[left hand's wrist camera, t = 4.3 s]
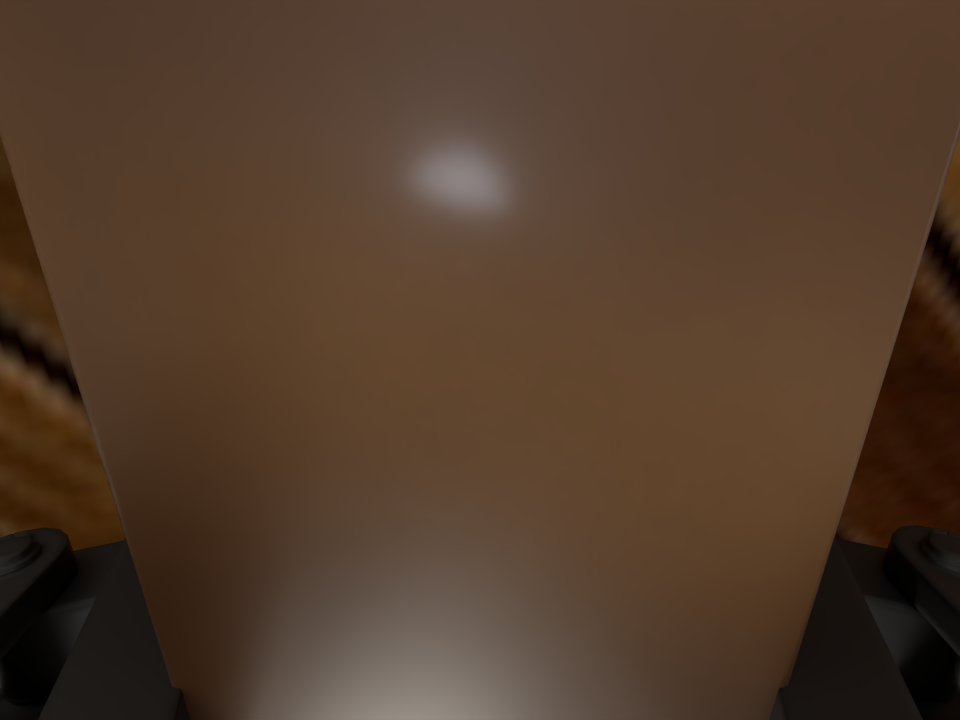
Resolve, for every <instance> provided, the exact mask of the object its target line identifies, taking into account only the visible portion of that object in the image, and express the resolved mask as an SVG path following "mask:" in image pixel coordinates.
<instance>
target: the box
mask: <svg viewBox="0 0 960 720" xmlns="http://www.w3.org/2000/svg"><path fill="white" fill-rule="evenodd" d="M959 135H960V0H0V136H1V139H2V142H3V146H4V149H5V152H6V155H7V158H8V162H9V165H10V168H11V171H12V175H13V178H14V181H15V184H16V187H17V191H18V194H19V197H20V200H21V203H22V207H23V210H24V213H25V216H26V219H27V223H28V226H29V229H30V232H31V235H32V239H33V242H34V245H35V248H36V252H37V255H38V258H39V261H40V264H41V268H42V271H43V274H44V277H45V280H46V284H47V287H48V290H49V293H50V296H51V300H52V303H53V306H54V309H55V312H56V316H57V319H58V322H59V325H60V329H61V332H62V335H63V338H64V341H65V345H66V348H67V351H68V354H69V357H70V361H71V364H72V367H73V370H74V373H75V377H76V380H77V383H78V386H79V390H80V393H81V396H82V399H83V402H84V406H85V409H86V412H87V415H88V418H89V422H90V425H91V428H92V431H93V434H94V438H95V441H96V444H97V447H98V450H99V454H100V457H101V460H102V463H103V467H104V470H105V473H106V476H107V479H108V483H109V486H110V489H111V492H112V495H113V499H114V502H115V505H116V508H117V511H118V515H119V518H120V521H121V524H122V527H123V531H124V534H125V537H126V540H127V544H128V547H129V550H130V553H131V556H132V560H133V563H134V566H135V569H136V572H137V576H138V579H139V582H140V585H141V588H142V592H143V595H144V598H145V601H146V605H147V608H148V611H149V614H150V617H151V621H152V624H153V627H154V630H155V633H156V637H157V640H158V643H159V646H160V649H161V653H162V656H163V659H164V662H165V665H166V669H167V672H168V675H169V678H170V682H171V685H172V686H173V687H175V688H177V689H181V690H182V693H183V697H184V700H185V703H186V706H187V710H188V713H189V716H190V720H770V716H771V713H772V710H773V706H774V703H775V700H776V697H777V693H778V690H779V688H784V687H786V686H788V684H789V681H790V678H791V675H792V671H793V668H794V665H795V662H796V659H797V655H798V652H799V649H800V646H801V643H802V639H803V636H804V633H805V630H806V627H807V623H808V620H809V617H810V614H811V610H812V607H813V604H814V601H815V598H816V594H817V591H818V588H819V585H820V582H821V578H822V575H823V572H824V569H825V566H826V562H827V559H828V556H829V553H830V549H831V546H832V543H833V540H834V537H835V533H836V530H837V527H838V524H839V521H840V517H841V514H842V511H843V508H844V505H845V501H846V498H847V495H848V492H849V488H850V485H851V482H852V479H853V476H854V472H855V469H856V466H857V463H858V460H859V456H860V453H861V450H862V447H863V444H864V440H865V437H866V434H867V431H868V427H869V424H870V421H871V418H872V415H873V411H874V408H875V405H876V402H877V399H878V395H879V392H880V389H881V386H882V383H883V379H884V376H885V373H886V370H887V366H888V363H889V360H890V357H891V354H892V350H893V347H894V344H895V341H896V338H897V334H898V331H899V328H900V325H901V322H902V318H903V315H904V312H905V309H906V305H907V302H908V299H909V296H910V293H911V289H912V286H913V283H914V280H915V277H916V273H917V270H918V267H919V264H920V261H921V257H922V254H923V251H924V248H925V244H926V241H927V238H928V235H929V232H930V228H931V225H932V222H933V219H934V216H935V212H936V209H937V206H938V203H939V200H940V196H941V193H942V190H943V187H944V183H945V180H946V177H947V174H948V171H949V167H950V164H951V161H952V158H953V155H954V151H955V148H956V145H957V142H958V138H959Z"/></svg>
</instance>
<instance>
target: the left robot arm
mask: <svg viewBox="0 0 960 720" xmlns="http://www.w3.org/2000/svg"><path fill="white" fill-rule="evenodd" d="M0 720H190V716H189V713H188V710H187V706H186V703H185V700H184V697H183V693H182V690H181V689H177V688H175V687H173V686H172V685H171V682H170V678H169V675H168V672H167V669H166V665H165V662H164V659H163V656H162V653H161V649H160V646H159V643H158V640H157V637H156V633H155V630H154V627H153V624H152V621H151V617H150V614H149V611H148V608H147V605H146V601H145V598H144V595H143V592H142V588H141V585H140V582H139V579H138V576H137V572H136V569H135V566H134V563H133V560H132V556H131V553H130V550H129V547H128V544H127V540H126V537H125V539H124V540H123V541H119V542H115V543H110V544H105V545H100V546H96V547H91V548H86V549H81V550H76V551H73V550H72V547H71V544H70V541H69V539H68V536H67V534H65V533H64V532H62V531H61V530H59V529H52V528H40V529H33V530H26V531H21V532H17V533H14V534H13V535H12V534H10V535H7V536H5V537H2V538H0ZM770 720H960V535H957V534H954V533H952V532H946V531H945V530H941V529H937V528H930V527H923V526H917V525H916V526H905V527H900V528H899V529H897V530H896V531H894V532H893V534H892V537H891V540H890V543H889V545H888V548H887V549H886V548H881V547H876V546H871V545H866V544H861V543H856V542H851V541H846V540H842V539H838V538H835V537H834V540H833V543H832V546H831V549H830V553H829V556H828V559H827V562H826V566H825V569H824V572H823V575H822V578H821V582H820V585H819V588H818V591H817V594H816V598H815V601H814V604H813V607H812V610H811V614H810V617H809V620H808V623H807V627H806V630H805V633H804V636H803V639H802V643H801V646H800V649H799V652H798V655H797V659H796V662H795V665H794V668H793V671H792V675H791V678H790V681H789V684H788V686H786V687H784V688H779V690H778V693H777V697H776V700H775V703H774V706H773V710H772V713H771V716H770Z"/></svg>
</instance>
